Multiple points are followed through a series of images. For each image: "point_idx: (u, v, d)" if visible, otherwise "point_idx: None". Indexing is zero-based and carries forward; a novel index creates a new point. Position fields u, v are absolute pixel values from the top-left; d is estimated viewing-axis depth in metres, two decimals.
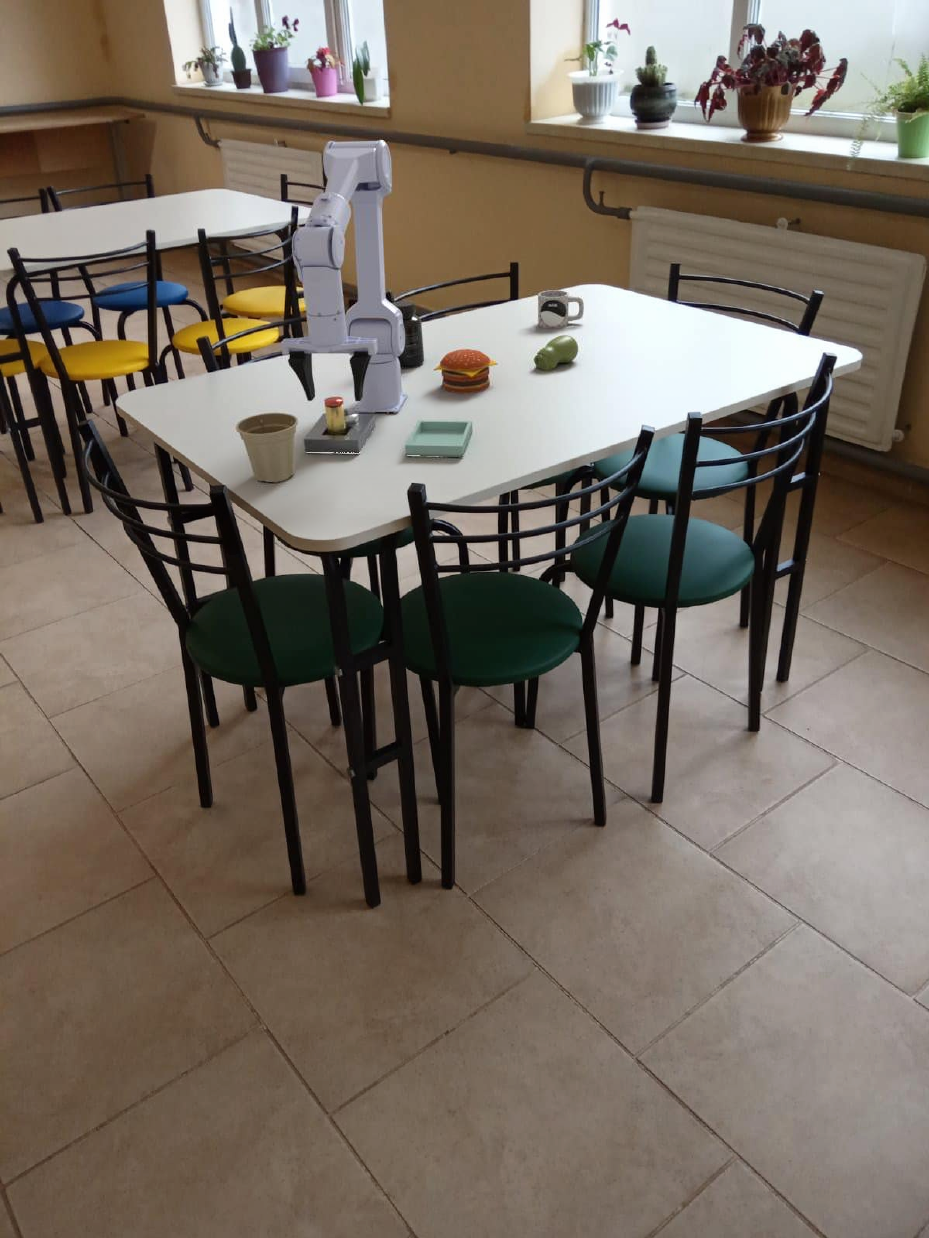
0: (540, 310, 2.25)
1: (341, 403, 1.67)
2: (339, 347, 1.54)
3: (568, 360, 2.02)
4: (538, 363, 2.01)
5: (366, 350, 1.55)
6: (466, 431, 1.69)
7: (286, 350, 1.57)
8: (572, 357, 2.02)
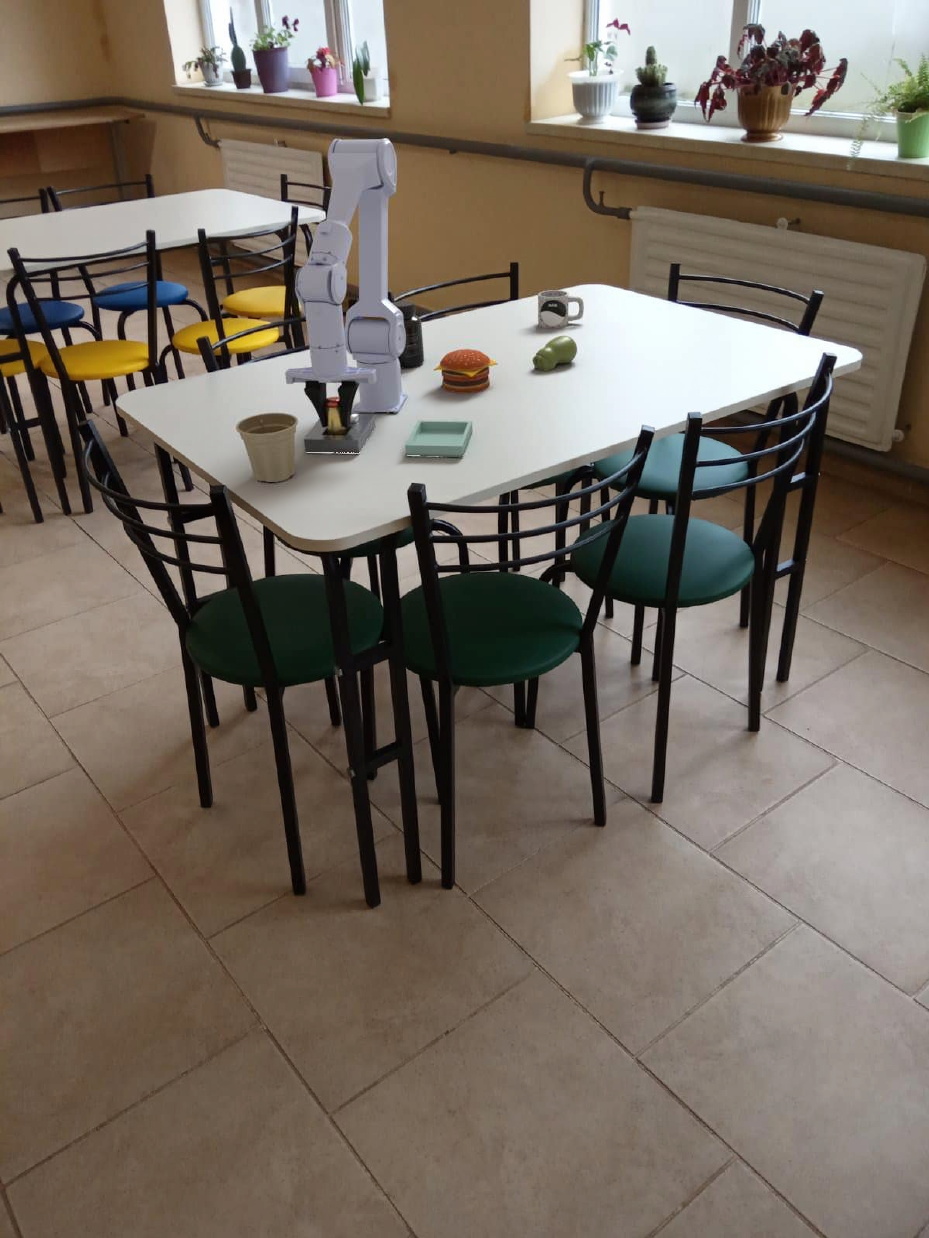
0: (540, 310, 2.25)
1: None
2: (340, 377, 1.62)
3: (567, 360, 2.02)
4: (537, 364, 2.01)
5: (366, 380, 1.64)
6: (466, 431, 1.69)
7: (290, 379, 1.65)
8: (571, 358, 2.02)
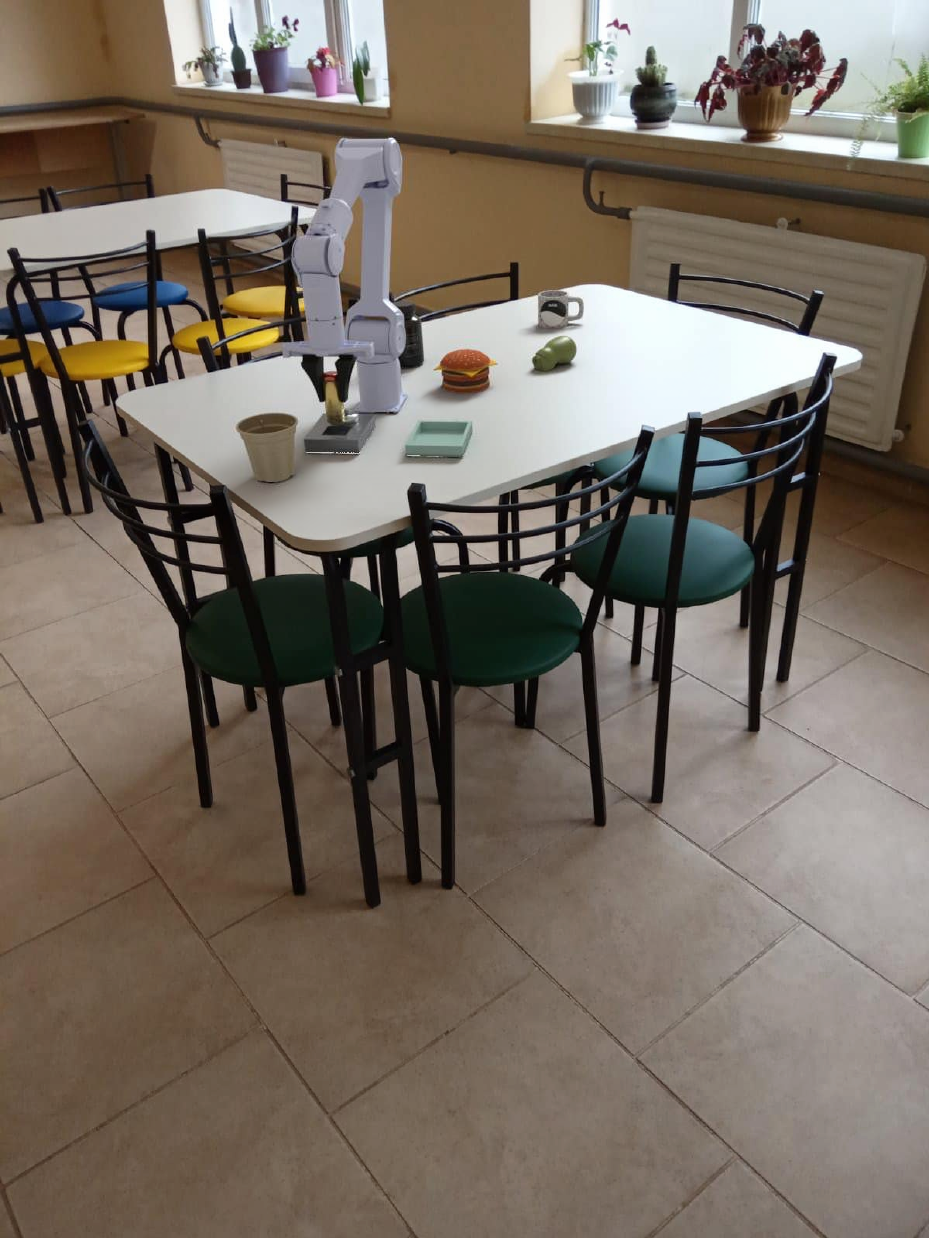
0: (540, 310, 2.25)
1: None
2: (337, 351, 1.60)
3: (566, 360, 2.02)
4: (536, 364, 2.00)
5: (363, 353, 1.62)
6: (466, 431, 1.69)
7: (287, 353, 1.63)
8: (570, 358, 2.02)
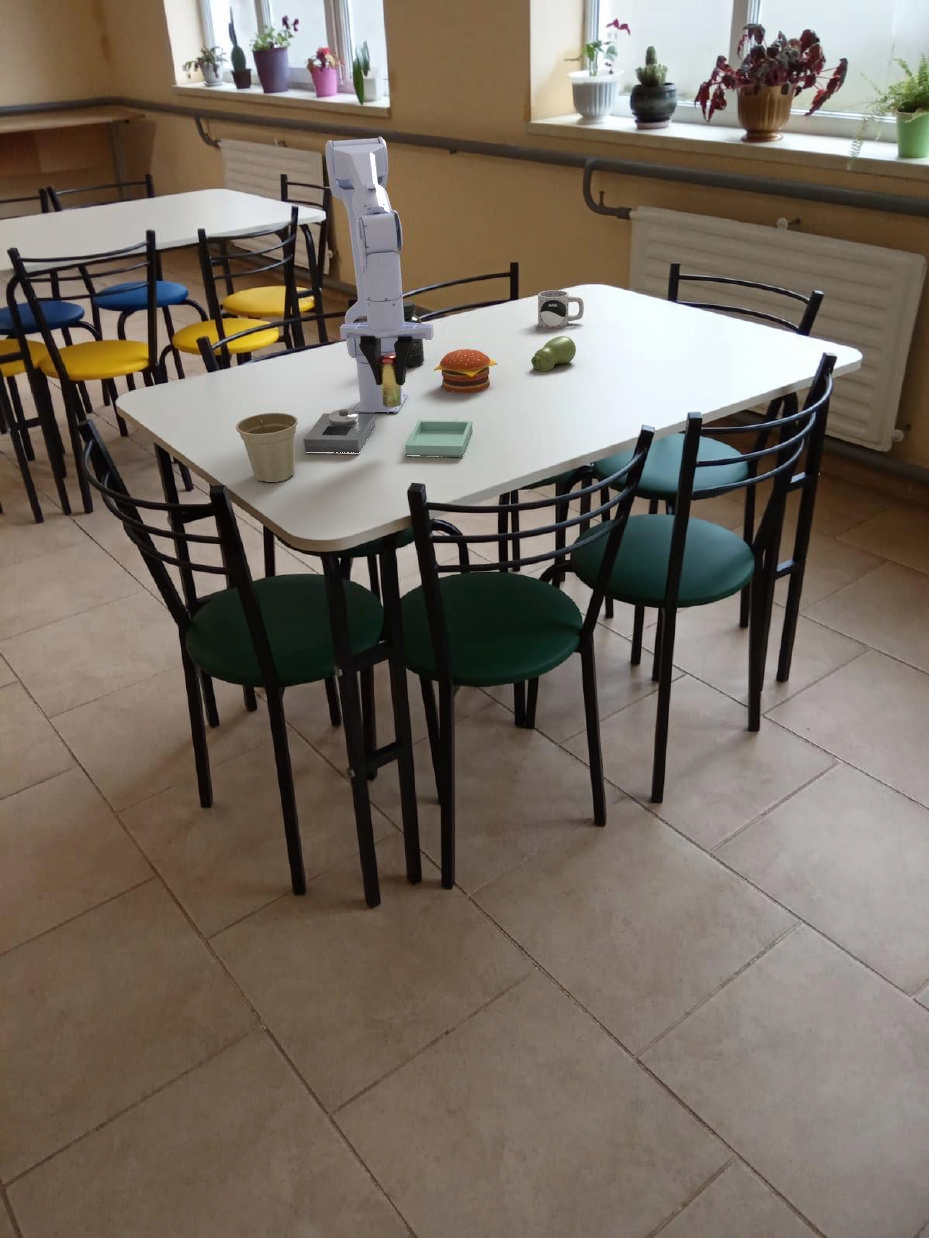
0: (540, 310, 2.25)
1: (396, 360, 1.62)
2: (397, 332, 1.58)
3: (565, 361, 2.01)
4: (536, 364, 2.00)
5: (423, 335, 1.60)
6: (466, 431, 1.69)
7: (344, 335, 1.61)
8: (570, 358, 2.02)
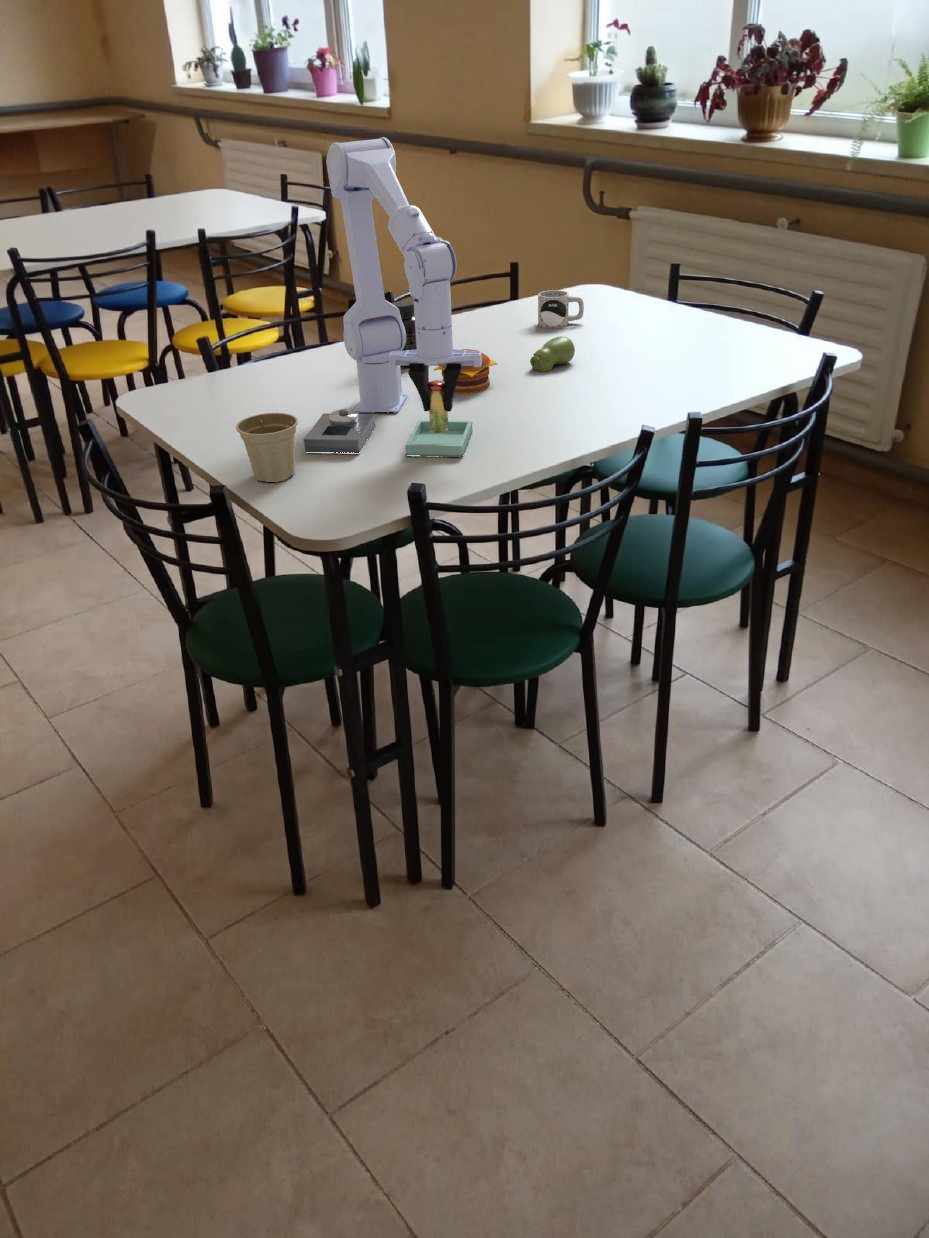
0: (540, 310, 2.25)
1: None
2: (446, 360, 1.59)
3: (564, 361, 2.01)
4: (535, 364, 2.00)
5: (471, 362, 1.61)
6: (466, 431, 1.69)
7: (393, 362, 1.62)
8: (568, 358, 2.02)
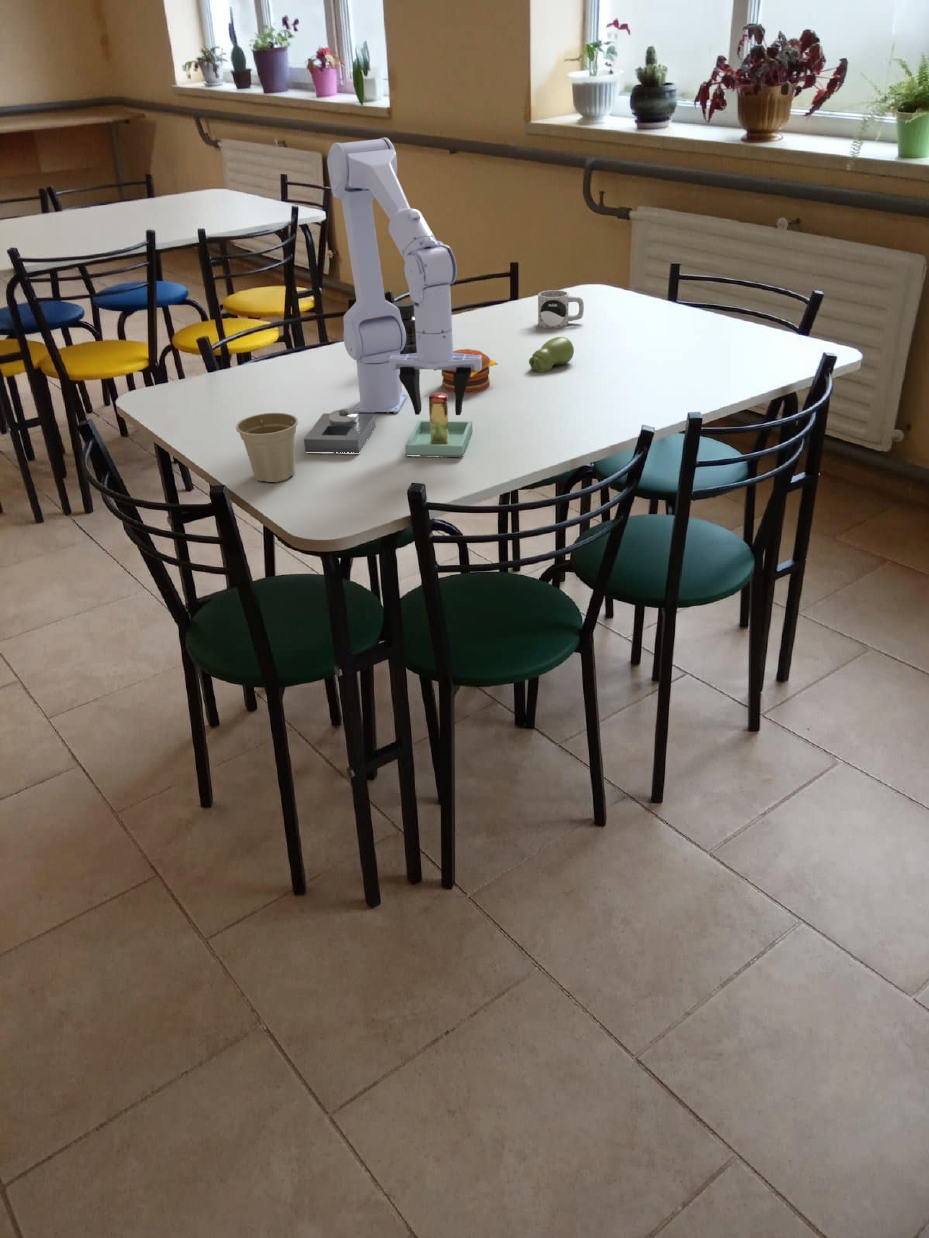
0: (540, 310, 2.25)
1: (446, 399, 1.65)
2: (447, 364, 1.60)
3: (563, 361, 2.01)
4: (534, 365, 2.00)
5: (471, 366, 1.62)
6: (466, 431, 1.69)
7: (394, 366, 1.63)
8: (567, 359, 2.01)
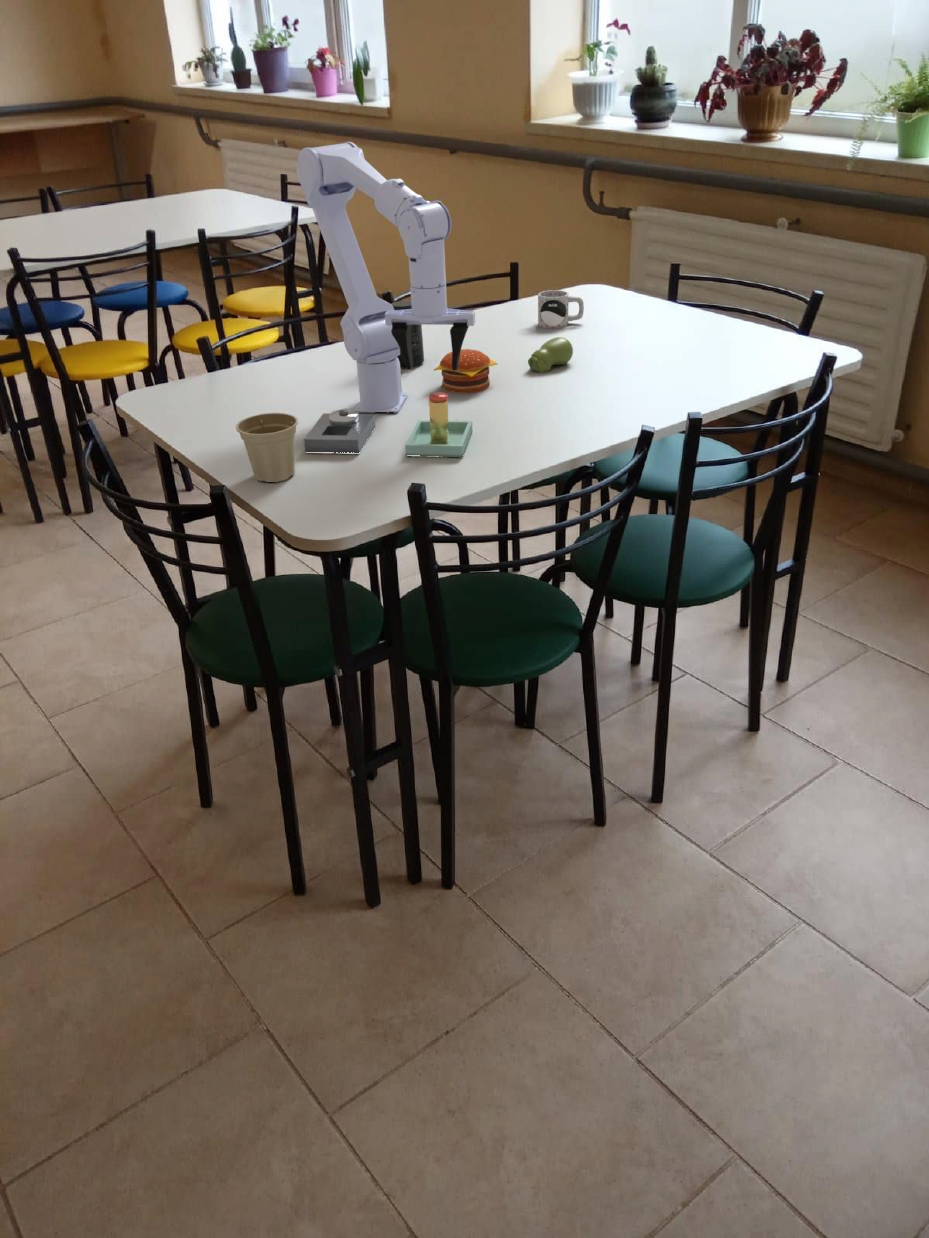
0: (540, 310, 2.25)
1: (446, 399, 1.65)
2: (440, 318, 1.64)
3: (562, 362, 2.01)
4: (532, 365, 2.00)
5: (465, 321, 1.66)
6: (466, 431, 1.69)
7: (389, 321, 1.67)
8: (566, 359, 2.01)
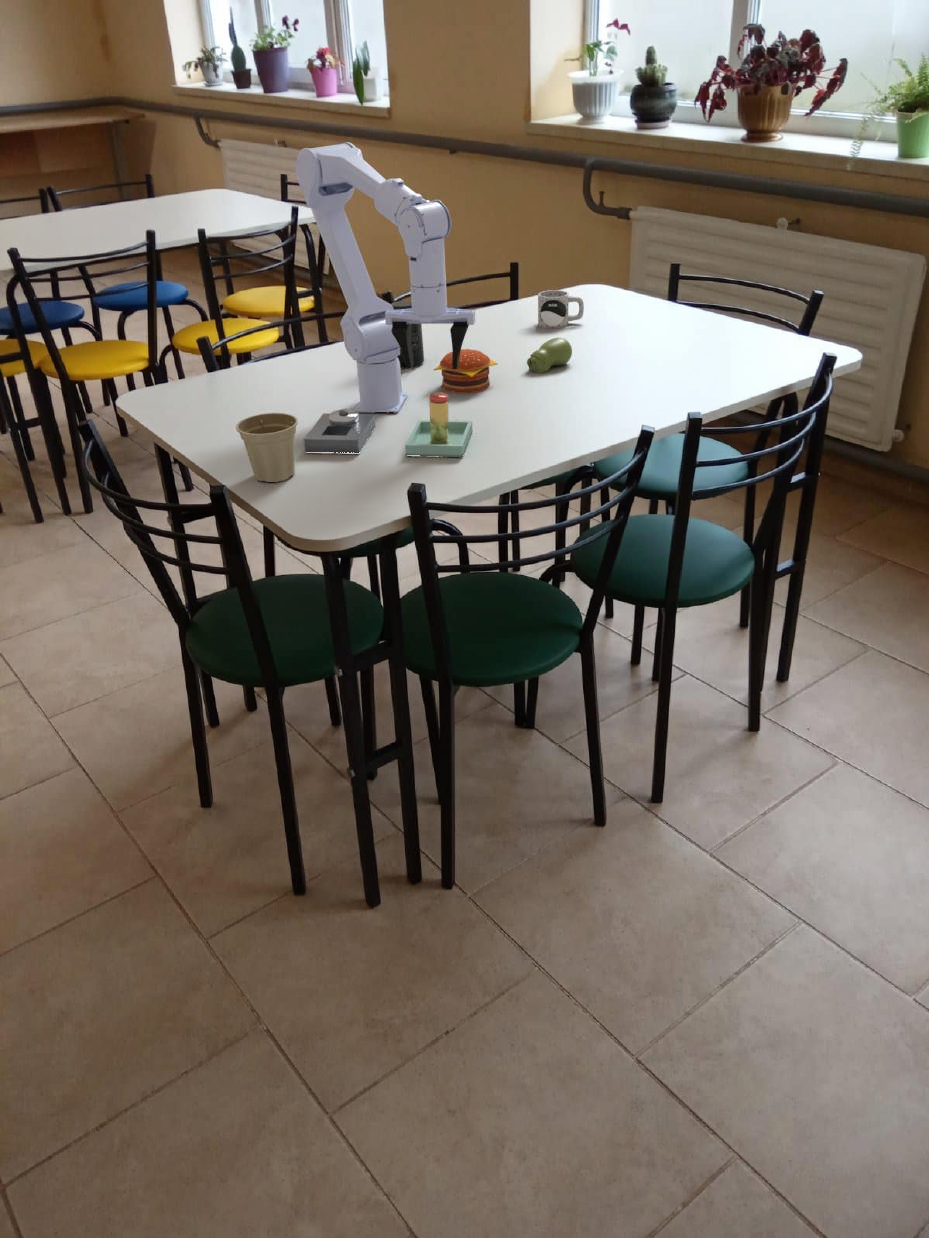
0: (540, 310, 2.25)
1: (447, 399, 1.65)
2: (441, 317, 1.64)
3: (561, 362, 2.01)
4: (531, 365, 2.00)
5: (465, 320, 1.66)
6: (466, 431, 1.69)
7: (389, 320, 1.67)
8: (566, 360, 2.01)
